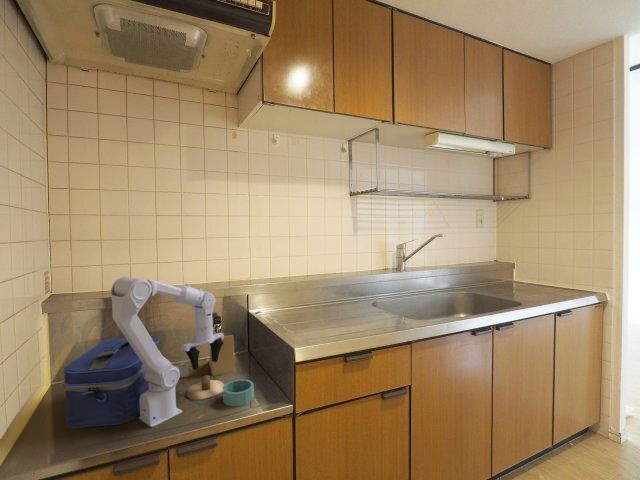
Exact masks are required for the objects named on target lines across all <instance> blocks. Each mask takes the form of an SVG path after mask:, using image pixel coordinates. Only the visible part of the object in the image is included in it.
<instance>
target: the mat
mask: <svg viewBox="0 0 640 480" xmlns="http://www.w3.org/2000/svg"><path fill="white" fill-rule="evenodd" d="M210 380H214V379H213V378H210ZM225 384H226V383H224V385H225ZM187 390H188V388H186V389H185V390H183V391H180V392H178V394H179V395H180V396H183V397H184V398H186V399H188V400H190V401H192V402H194V403H196V404H198V405H200V406H202V405H203V404H205V403H208V402H210V401H211V400H213V399H215V398H217V397H220V396H223V392H222V393H221V394H220V395H218V396H216V397H213V398H210V399H205V400H193V399H190V398H189V397H188V396H187Z"/></svg>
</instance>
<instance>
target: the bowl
mask: <svg viewBox="0 0 640 480" xmlns="http://www.w3.org/2000/svg"><path fill="white" fill-rule="evenodd" d="M224 384H225V385H224V387H223V394H222V401H223V404H224V405H226V406H228V407H242V406H245V405H248V404H249V403H251V402H252V401H253V399H254V398H255V387H254V386H255V384H254V383H253V381H252V380H249V379H243V378H240V379H239V378H238V379H235V380H231V381H229V382H226V383H224Z"/></svg>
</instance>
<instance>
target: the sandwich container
mask: <svg viewBox="0 0 640 480" xmlns="http://www.w3.org/2000/svg"><path fill="white" fill-rule="evenodd" d="M234 340H235V339H234V334H231V335H224V339H222V341H223V345H222V347H221V349H220V352H219V356H218V360H217V362H213V361H212V356H211V347H210V348H209V349H210V350H209V357H208V358H209V359H208V364H209V369H210V371H211V372H210V373H211V375H212V377H214V376H219V375H224V374H229V373H234V372H235V344H234V343H235V341H234Z"/></svg>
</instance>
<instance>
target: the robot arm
mask: <svg viewBox="0 0 640 480" xmlns="http://www.w3.org/2000/svg"><path fill="white" fill-rule="evenodd" d="M191 286H192V285H191V284H186V283H185V284H181V285H179V286H178V287H177V286H175V285H170V284H168V283H165V282H162V281H158V280H155V279H146V278H137V277H135V278H133V277H129V276H122V277H119V278H117V279H115V281H114V282H113V284H112V286H111V288H110V291H109V296H110V297H111V305H112V306H111V308H112V309H111V310H112V313H111V315H112V320H113V321H114V323H115V325H117V327H118V328H119V330H120V331H121V333H122V334H123V336H124V338H126V339H127V341H128V342H129V344H130V345H131V347H132V348H133V350H134V351H135V353H136V354H137V356H138V357H139V359H140V360H141V362H142V363H143V364H142V366H141V368H142V370H143V376H144V379H145V380H146V381H147V382H148V386H149V389H148V390H147V391H146V392H144V393H143V394H141V395H140V414H139V417H138V419H139V420H141V421H142V422H143V423H145V424H146V425H148V426H149V427H151V428H154V427H156V426H157V425H160V424H161V423H163V422H165V421H167V420H170V419H171V418H174V417H176V416H177V415H179V414H182V413H183V410H181V409H180V408H178V407H177V397H176V396H177V395H176V386H177V384H178V382H179V380H180V378H179V377H180V371H179V369H178V368H177V366H174V365H173V364H172V362H171V361H169V359H168V358H166V357H165V356H163V355H162V353H161V351H160V350H159V347H157V346H156V345H155V343H154V342H153V340H152V338H153V337H152V336H151V335H150V334H149V333H150V332H148V330H147V329H146V327H145V326H144V324H143V322H142V320H141V319H140V318H139V316H138V313H139V312H140V310H141V309H142V307H143V306H144V305H145V303H146V302H147V301H148V299H149V298H150V297H154V296H155V295H156V294H158V295H162V296H167V297H172V298H174V301H175V302H176V303H178V304H183V305H186V306H189V307H192V308H194V309H193V310H194V332H195V333H194V336H195V337H194V339H192V340H190V341H189V342H187V343H183V348H182V349H183V351H184V352H185V354H186V355H187V357H188V358H189V361H191V364H192V367H191V368H192V369H193V370H195V371H198V370H199V357H200V350H198V349H197V348H198V347H202V346H205V345H207V344H209V345H210V348H211V356H212V361H213V362H217V360H218V356H219V352H220V349H221V347H222V345H223V341H222V339H224V336H225V335H224V333H223V332H218V333H214V326H213V323H214V321H213V312H214V307H215V305H216V302H217V301H216V300H217V298H215V296H214V294H213V293H212V292H210V291H205V290H204V291H203V288H201V287H197V288H195V287H193V286H192V287H191Z"/></svg>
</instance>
